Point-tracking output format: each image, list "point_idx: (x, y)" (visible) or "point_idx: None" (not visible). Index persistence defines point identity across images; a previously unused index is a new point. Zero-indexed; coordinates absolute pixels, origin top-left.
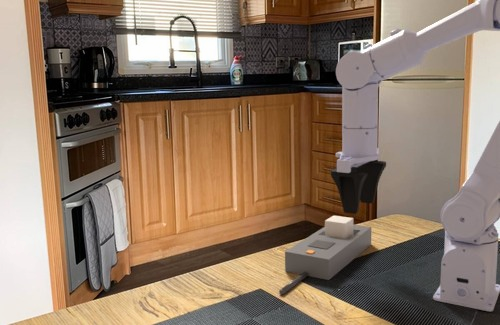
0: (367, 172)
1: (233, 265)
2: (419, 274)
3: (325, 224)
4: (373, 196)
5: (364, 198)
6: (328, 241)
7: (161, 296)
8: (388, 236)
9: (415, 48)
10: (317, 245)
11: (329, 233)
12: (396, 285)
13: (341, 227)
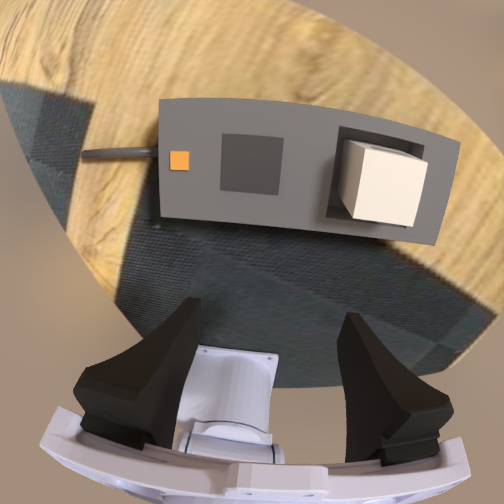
0: (364, 420)
1: None
2: (283, 324)
3: (361, 148)
4: (339, 362)
5: (346, 332)
6: (287, 172)
7: (31, 17)
8: (467, 246)
9: None
10: (235, 157)
11: (352, 157)
12: (220, 302)
13: (351, 201)
